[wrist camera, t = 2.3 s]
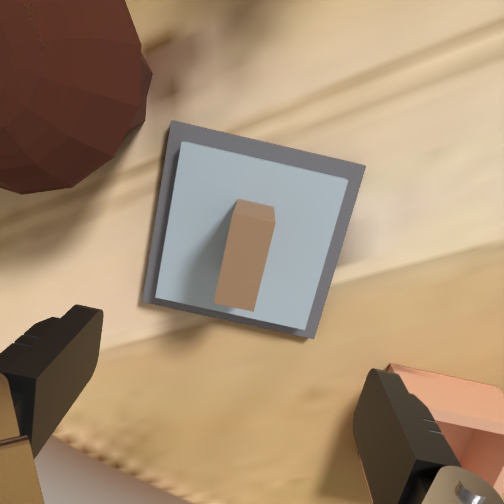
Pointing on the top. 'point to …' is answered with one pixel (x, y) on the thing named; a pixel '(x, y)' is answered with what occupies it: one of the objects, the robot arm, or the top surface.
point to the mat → (266, 152)
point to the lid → (247, 235)
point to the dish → (463, 419)
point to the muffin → (66, 89)
